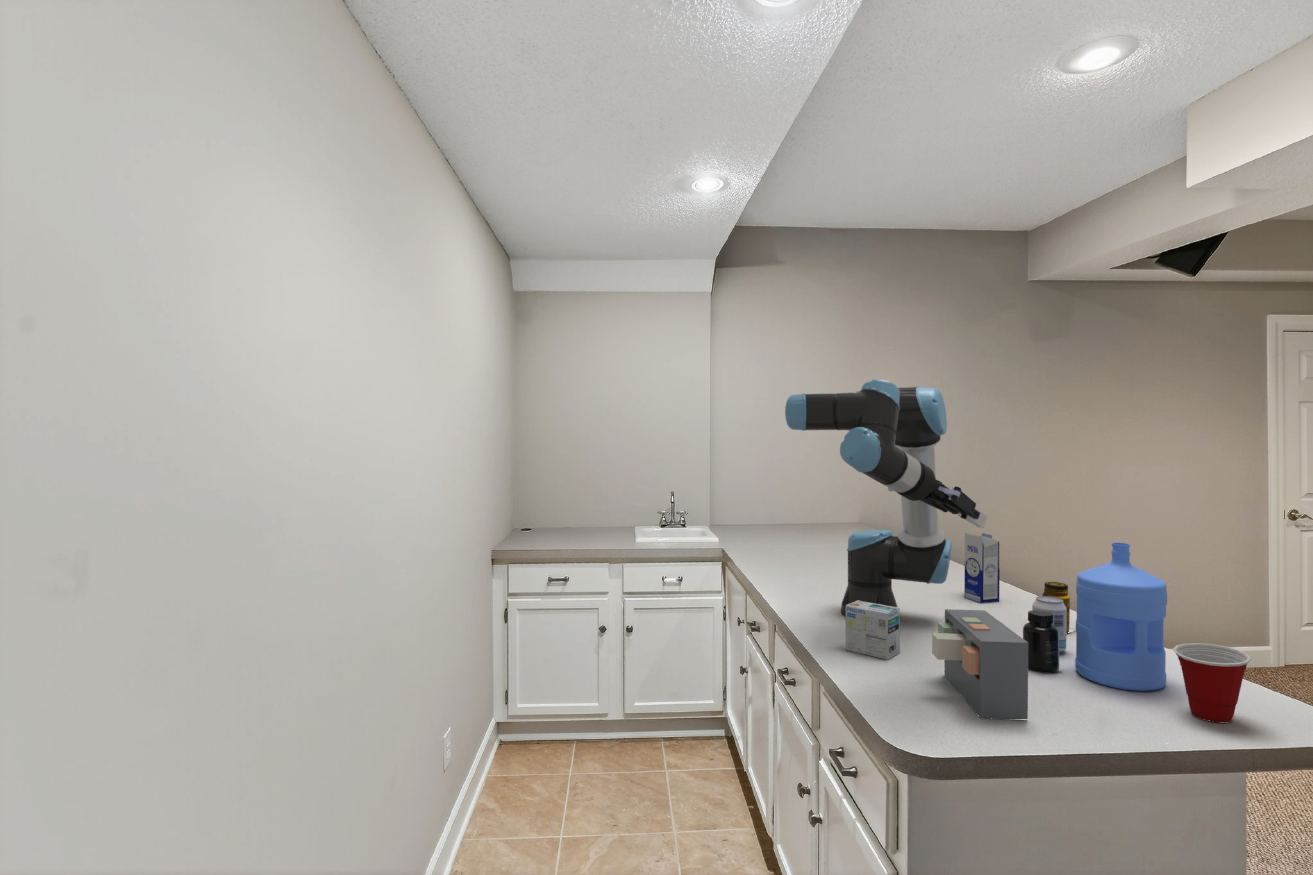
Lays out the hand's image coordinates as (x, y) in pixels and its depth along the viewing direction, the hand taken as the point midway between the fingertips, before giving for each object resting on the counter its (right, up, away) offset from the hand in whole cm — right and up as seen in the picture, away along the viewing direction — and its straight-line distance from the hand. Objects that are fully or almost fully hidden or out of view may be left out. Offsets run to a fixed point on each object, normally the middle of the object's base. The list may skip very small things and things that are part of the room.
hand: (982, 521), depth 142 cm
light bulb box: (-18, -32, +16) cm, 40 cm away
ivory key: (-10, -25, -10) cm, 29 cm away
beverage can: (+23, -32, +16) cm, 43 cm away
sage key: (-6, -25, -3) cm, 26 cm away
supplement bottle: (+15, -33, +5) cm, 36 cm away
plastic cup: (+32, -33, -20) cm, 50 cm away
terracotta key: (-8, -25, -18) cm, 32 cm away
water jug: (+28, -33, -1) cm, 43 cm away
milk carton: (+29, -31, +61) cm, 75 cm away
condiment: (+33, -32, +31) cm, 56 cm away
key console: (-5, -33, -10) cm, 35 cm away
